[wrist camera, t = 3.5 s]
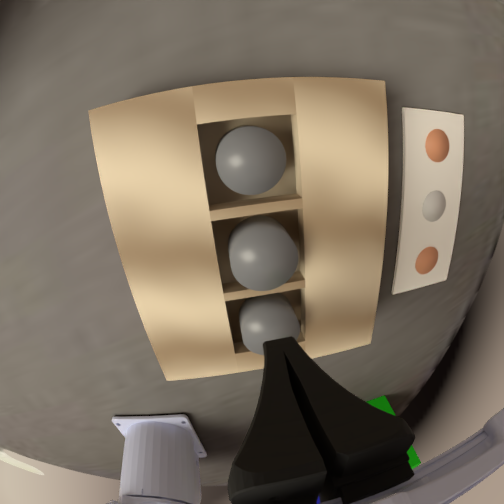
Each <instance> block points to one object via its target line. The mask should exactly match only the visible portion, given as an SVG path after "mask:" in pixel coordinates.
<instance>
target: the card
mask: <svg viewBox="0 0 504 504" xmlns="http://www.w3.org/2000/svg"><path fill="white" fill-rule="evenodd" d="M402 124H403V178H402V200H401V215H400V227H399V238H398V247H397V256H396V264H395V271H394V278H393V285H392V291H391V293H392V294H393V295H394V294H397V293H401V292H405V291H409V290H412V289H416V288H420V287H423V286H427V285H431V284H434V283H437V282H441V281H444V280H446V279H447V275H448V270H449V266H450V261H451V256H452V251H453V245H454V240H455V234H456V227H457V221H458V213H459V205H460V196H461V186H462V172H463V152H464V115H460V114H454V113H448V112H441V111H433V110H425V109H416V108H405V107H402Z"/></svg>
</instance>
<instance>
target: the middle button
mask: <svg viewBox="0 0 504 504" xmlns="http://www.w3.org/2000/svg"><path fill="white" fill-rule="evenodd" d="M228 252H229V258H230V264H231V269H232V273H233V275H234V277H235V278H236V280H237V281H238V282H239V283H240V284H241V285H243V286H244V287H246V288H248V289H251V290H255V291H268V290H272V289H275V288H278V287H280V286H281V285H283V284H284V283H286V282H287V281H288V280H289V279H290V278H291V277H292V275H293V274H294V272H295V270H296V268H297V265H298V251H297V248H296V245H295V244H294V242H293V240H292V239H291V237H290V236H289V234H288V233H287V231H286V230H285V228H284V227H283V226H282V225H281V223H279V222H278V221H277V220H275V219H273V218H271V217H268V216H261V215H259V216H252V217H249V218H246V219H244V220H242V221H241V222H240V223H238V224H237V225H236V226H235V227H234V229H233V230H232V232H231V234H230V236H229V239H228Z"/></svg>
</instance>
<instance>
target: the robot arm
mask: <svg viewBox="0 0 504 504" xmlns="http://www.w3.org/2000/svg"><path fill="white" fill-rule="evenodd" d="M263 352H264V372H263V381H262V386H261V392H260V396H259V401H258V404H257V408H256V411H255V414H254V417H253V420H252V423H251V426H250V429H249V431H248V433H247V435H246V438H245V440H244V442H243V444H242V446H241V448H240V450H239V452H238V454H237V456H236V458H235V459H234V461H233V463H232V467H231V471H230V475H229V480H228V494H229V500H230V501H231V503H232V504H317V499H318V496H319V499H320V503H318V504H449V503H451V502H452V501H454V500H455V499H457V498H458V497H460V496H461V495H463V494H464V493H466V492H467V491H469V490H470V489H472V488H473V487H474V486H476V485H477V484H478V483H480V482H481V481H483V480H484V479H485V478H486V477H488V476H489V475H491V474H492V473H493V472H494V471H496V470H497V469H498V468H499V467H501V466H502V465H503V464H504V408H503V409H502V410H501V411H499V412H498V413H497V414H495V415H494V416H493V417H491V418H490V419H489V420H488V421H487V423H486V424H485V425H484V427H483V428H482V429H481V430H479V431H478V432H476V433H475V434H473V435H472V436H470V437H469V438H467V439H466V440H464V441H462V442H461V443H459V444H457V445H456V446H454V447H452V448H451V449H449V450H447V451H446V452H444V453H442V454H440V455H438V456H437V457H435V458H433V459H431V460H429V461H427V462H426V463H423V464H421V465H419V466H417V467H415V468H413V469H412V468H411V466H410V464H409V462H408V461H409V460H410V458H409V456H408V454H407V451H408V450H409V448H410V447H411V445H412V444H413V442H414V439H415V435H414V433H413V432H412V430H411V428H410V427H409V425H408V424H407V423H406V422H405V420H404V419H403V418H400V417H398V416H395V415H392V414H390V413H387V412H385V411H383V410H380V409H378V408H376V407H374V406H372V405H370V404H369V403H367V402H365V401H363V400H362V399H360V398H358V397H356V396H355V395H353V394H352V393H350V392H349V391H347V390H346V389H345V388H343V387H342V386H341V385H339V384H338V383H337V382H336V381H334V380H333V379H332V378H331V377H330V376H329V375H327V374H326V373H325V372H324V371H323V370H322V369H321V368H320V367H319V366H318V365H317V364H316V363H315V362H314V361H313V360H312V359H311V358H310V357H309V356H308V354H307V353H306V352H305V351H304V350H303V349H302V347H301V346H300V345H299V344H298V342H297V341H296V340H295V338H294V337H292V336H290V337H285V338H280V339H275V340H270V341H265V342H264V343H263ZM112 422H113V423H114V424H115V426H116V427H117V428H118V429H119V431H120V432H121V433H122V434H123V436H124V437H125V445H124V453H123V462H122V471H121V482H120V493H119V499H118V501H113V500H111V501H110V502H108V503H107V504H200V501H201V486H200V471H199V458H203V457H206V456H207V453H206V451H205V449H204V447H203V445H202V444H201V442H200V440H199V438H198V436H197V434H196V432H195V430H194V428H193V426H192V424H191V423H190V421H189V419H188V417H187V416H186V415H184V414H178V415H162V416H126V417H119V416H115V417H112ZM395 493H396V494H395ZM390 495H391V496H390ZM383 498H384V499H383ZM378 500H379V501H378ZM373 502H374V503H373Z"/></svg>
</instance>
